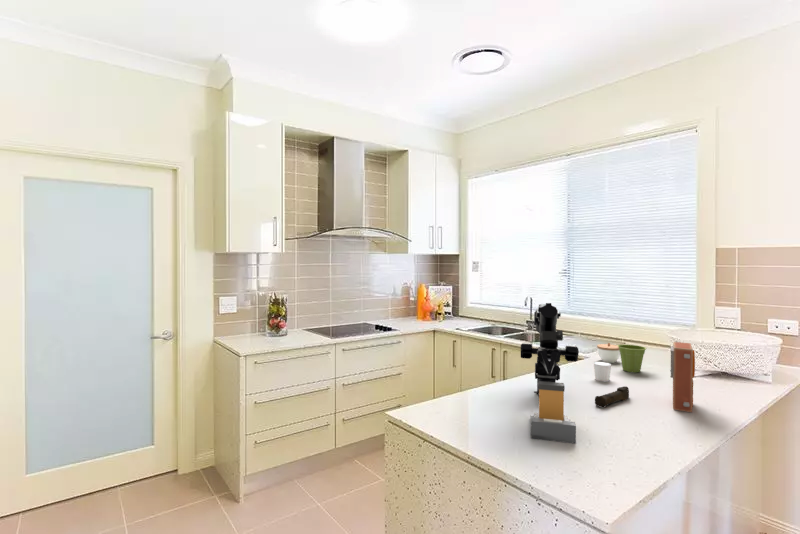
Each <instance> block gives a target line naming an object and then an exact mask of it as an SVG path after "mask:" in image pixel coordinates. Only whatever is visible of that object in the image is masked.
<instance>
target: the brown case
mask: <svg viewBox="0 0 800 534" xmlns="http://www.w3.org/2000/svg"><path fill="white" fill-rule="evenodd" d="M672 343H673V345H670V369H669V370H670V378H672V409H673V410H674V411H681V412H688V413H693V407H694V380H693V379H694V378H695V374H696V373H695V372H696V369H695V368H696V366H695V365H696V356H695V355H696V354H695V350H694V349H693V346H692V343H690V342H678V341H673V342H672Z"/></svg>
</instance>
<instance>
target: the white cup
mask: <svg viewBox="0 0 800 534" xmlns="http://www.w3.org/2000/svg"><path fill="white" fill-rule="evenodd" d="M593 369H594V379H595V380H596V381H598V382H609V381H610V379H611V370H612V363H608V362H603V361H594V362H593Z"/></svg>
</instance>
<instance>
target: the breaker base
mask: <svg viewBox="0 0 800 534" xmlns="http://www.w3.org/2000/svg"><path fill="white" fill-rule="evenodd" d="M576 424H577V423H576V421H571V419H569V415H566V414H565V415H564V421H562V420H553V419H542V418H539V412H533V415H530V439H532V440H533V439H534V440H542V441H550V442H552V441H553V442H560V443H569V444H577V425H576Z"/></svg>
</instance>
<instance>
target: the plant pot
mask: <svg viewBox="0 0 800 534" xmlns="http://www.w3.org/2000/svg"><path fill="white" fill-rule="evenodd" d="M617 346H618V347H619V351H620V361H621V368H622V370H623V371H624V372H625V371H626V372H628V373H641V370H642V364H643V360H644V355H645V352H646V351H647V347H645V346H640V345H638V344H637V345H635V344H618V345H617Z"/></svg>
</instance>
